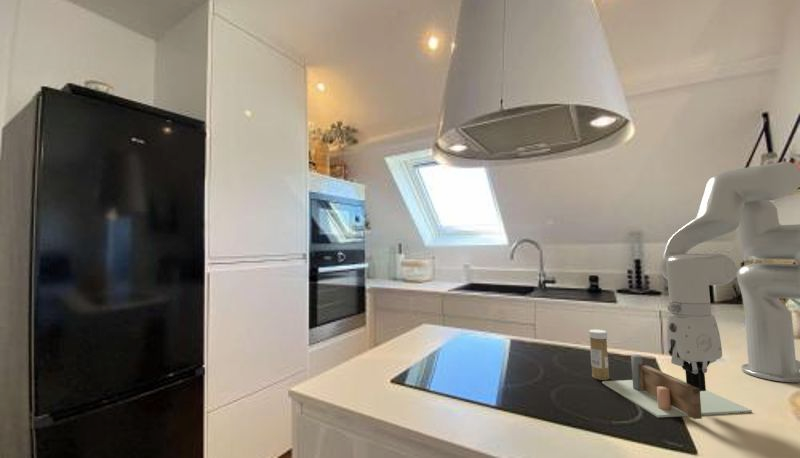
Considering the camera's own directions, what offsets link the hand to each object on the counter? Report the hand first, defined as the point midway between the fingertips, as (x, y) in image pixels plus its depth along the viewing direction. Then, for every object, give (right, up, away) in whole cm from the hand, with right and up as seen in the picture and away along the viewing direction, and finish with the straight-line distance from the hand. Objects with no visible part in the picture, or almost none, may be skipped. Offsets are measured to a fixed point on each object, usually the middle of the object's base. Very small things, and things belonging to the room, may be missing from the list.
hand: (696, 388), depth 82 cm
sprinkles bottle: (-11, -6, +21) cm, 24 cm away
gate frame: (-1, -5, +7) cm, 9 cm away
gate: (-6, -4, +1) cm, 7 cm away
